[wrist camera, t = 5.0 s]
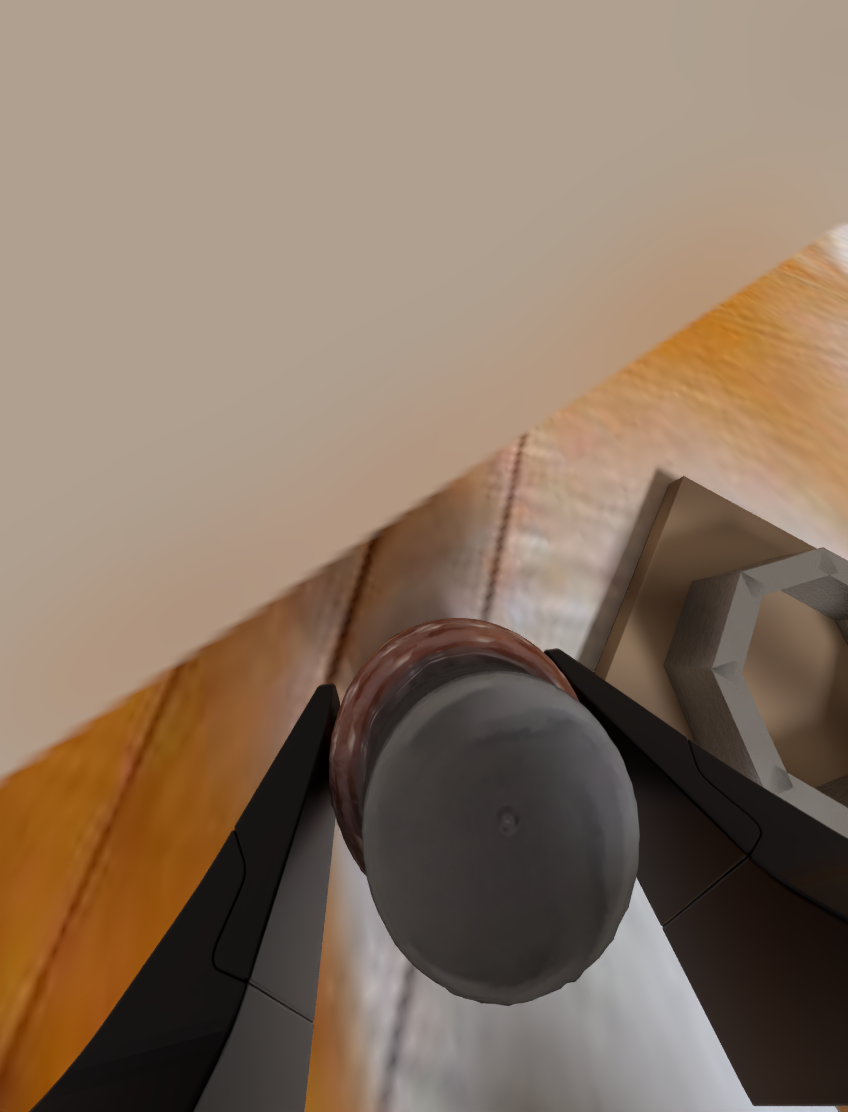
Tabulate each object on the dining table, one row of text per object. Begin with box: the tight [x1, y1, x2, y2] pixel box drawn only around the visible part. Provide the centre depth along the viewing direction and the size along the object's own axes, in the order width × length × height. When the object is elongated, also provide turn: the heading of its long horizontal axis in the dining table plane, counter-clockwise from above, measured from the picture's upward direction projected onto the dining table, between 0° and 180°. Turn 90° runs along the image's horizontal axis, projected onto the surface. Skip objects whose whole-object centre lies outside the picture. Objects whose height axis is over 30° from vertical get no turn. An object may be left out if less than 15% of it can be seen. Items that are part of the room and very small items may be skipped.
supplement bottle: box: [329, 618, 640, 1006], centre depth 10 cm, size 6×6×11 cm
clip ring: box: [663, 548, 848, 838], centre depth 15 cm, size 12×12×2 cm
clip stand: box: [595, 476, 848, 788], centre depth 17 cm, size 16×16×1 cm
